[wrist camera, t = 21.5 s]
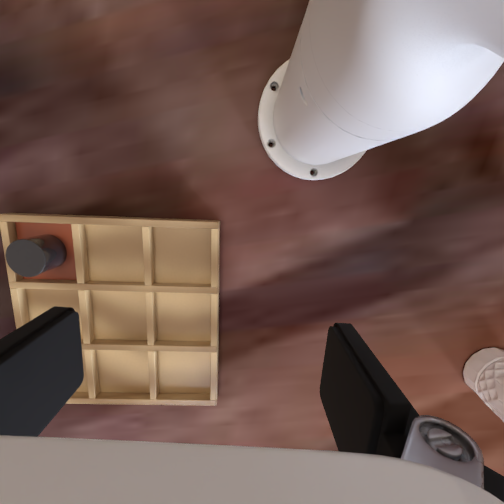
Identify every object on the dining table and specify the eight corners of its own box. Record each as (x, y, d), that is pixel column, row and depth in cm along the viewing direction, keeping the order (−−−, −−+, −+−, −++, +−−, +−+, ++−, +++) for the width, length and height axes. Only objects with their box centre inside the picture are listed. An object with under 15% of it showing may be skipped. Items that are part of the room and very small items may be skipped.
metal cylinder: (29, 233, 31) (2, 238, 27) (65, 234, 31) (43, 239, 28) (33, 267, 32) (8, 276, 28) (68, 268, 32) (47, 277, 28)
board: (11, 212, 31) (-3, 214, 29) (220, 220, 32) (218, 221, 30) (38, 392, 36) (27, 403, 34) (217, 395, 37) (216, 405, 35)
